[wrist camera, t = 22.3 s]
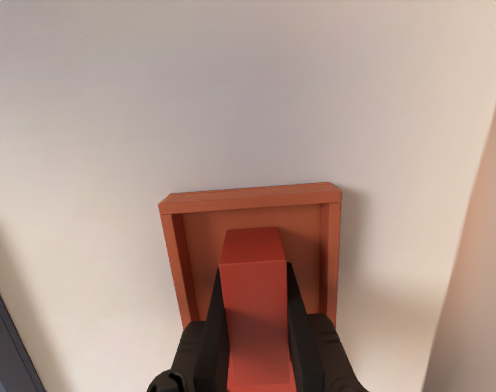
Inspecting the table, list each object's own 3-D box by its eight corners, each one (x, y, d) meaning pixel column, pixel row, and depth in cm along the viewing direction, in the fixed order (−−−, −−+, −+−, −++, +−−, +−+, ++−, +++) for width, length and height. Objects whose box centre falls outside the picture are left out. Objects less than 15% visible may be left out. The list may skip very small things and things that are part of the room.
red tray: (170, 193, 13) (157, 203, 12) (329, 181, 13) (342, 190, 11) (206, 390, 18) (201, 419, 16) (323, 384, 18) (332, 414, 16)
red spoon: (211, 230, 14) (198, 265, 10) (292, 224, 13) (307, 259, 10) (231, 380, 17) (226, 444, 14) (295, 377, 17) (307, 440, 14)
